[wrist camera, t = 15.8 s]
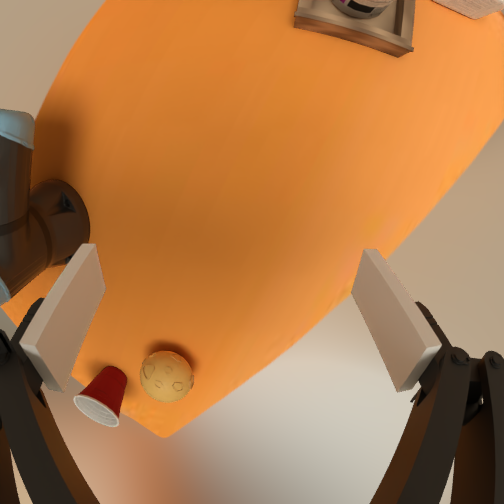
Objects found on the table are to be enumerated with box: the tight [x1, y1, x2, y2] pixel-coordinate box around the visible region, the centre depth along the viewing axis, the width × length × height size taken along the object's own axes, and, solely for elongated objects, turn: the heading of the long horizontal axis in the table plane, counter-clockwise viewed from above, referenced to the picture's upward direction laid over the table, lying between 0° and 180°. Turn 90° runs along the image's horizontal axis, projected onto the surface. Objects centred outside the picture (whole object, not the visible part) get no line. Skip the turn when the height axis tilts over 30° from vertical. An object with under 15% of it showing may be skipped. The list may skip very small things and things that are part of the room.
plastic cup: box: [73, 366, 127, 427], centre depth 54 cm, size 11×11×12 cm
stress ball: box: [140, 351, 194, 403], centre depth 50 cm, size 10×10×10 cm
